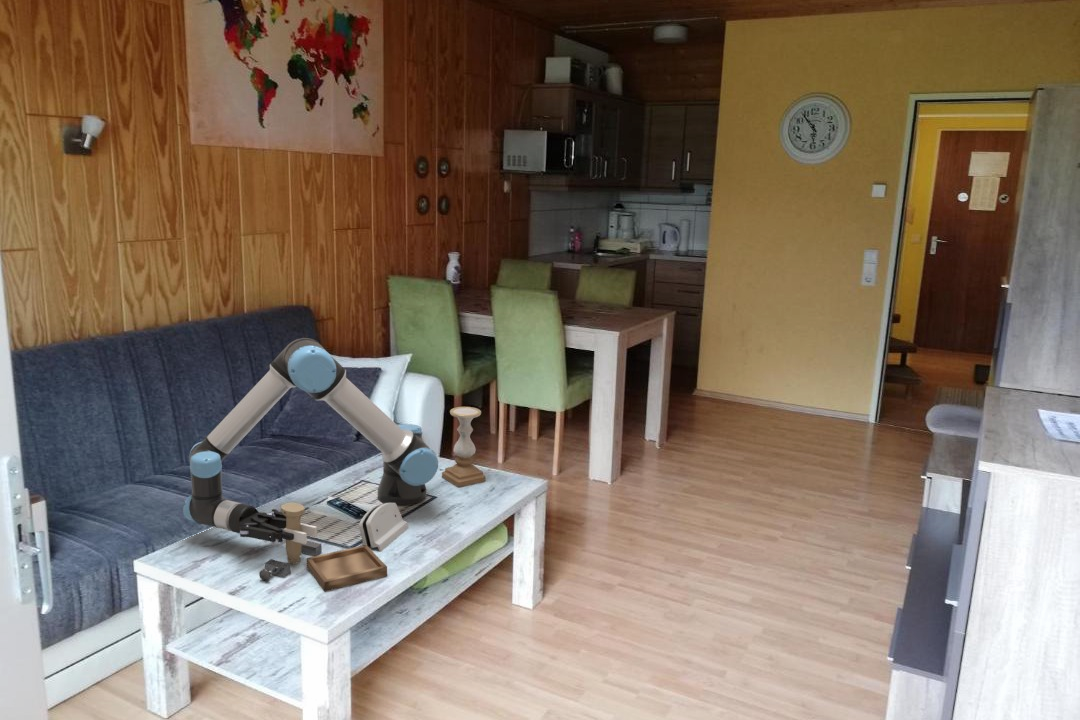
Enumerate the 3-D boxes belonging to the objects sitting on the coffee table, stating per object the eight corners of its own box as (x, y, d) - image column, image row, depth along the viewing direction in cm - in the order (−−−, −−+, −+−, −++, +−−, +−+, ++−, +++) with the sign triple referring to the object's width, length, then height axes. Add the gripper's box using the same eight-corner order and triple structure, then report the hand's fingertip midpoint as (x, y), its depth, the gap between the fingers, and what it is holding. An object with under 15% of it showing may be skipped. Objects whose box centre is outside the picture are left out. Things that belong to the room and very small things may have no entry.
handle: (293, 568, 201) (292, 513, 198) (278, 560, 205) (276, 506, 201) (309, 562, 205) (308, 507, 202) (294, 554, 209) (293, 501, 205)
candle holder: (441, 477, 267) (442, 408, 262) (468, 471, 273) (470, 404, 268) (458, 488, 258) (460, 417, 253) (486, 481, 265) (488, 412, 260)
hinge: (380, 552, 212) (369, 517, 211) (365, 554, 214) (354, 519, 213) (409, 527, 228) (399, 494, 227) (395, 530, 230) (385, 497, 229)
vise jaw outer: (271, 568, 201) (271, 556, 201) (290, 573, 199) (290, 561, 199) (254, 578, 196) (254, 567, 195) (274, 584, 194) (273, 572, 193)
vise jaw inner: (302, 548, 213) (302, 539, 212) (321, 552, 211) (321, 544, 210) (296, 551, 210) (296, 543, 210) (315, 556, 208) (315, 547, 208)
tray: (366, 553, 211) (366, 544, 211) (387, 576, 200) (387, 566, 200) (306, 567, 203) (306, 558, 202) (324, 591, 191) (324, 582, 191)
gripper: (259, 518, 217) (330, 536, 209) (214, 543, 202) (290, 562, 194) (258, 493, 216) (330, 509, 208) (213, 515, 201) (289, 534, 193)
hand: (310, 535), depth 201 cm, fingers closed on handle, 3 cm apart
